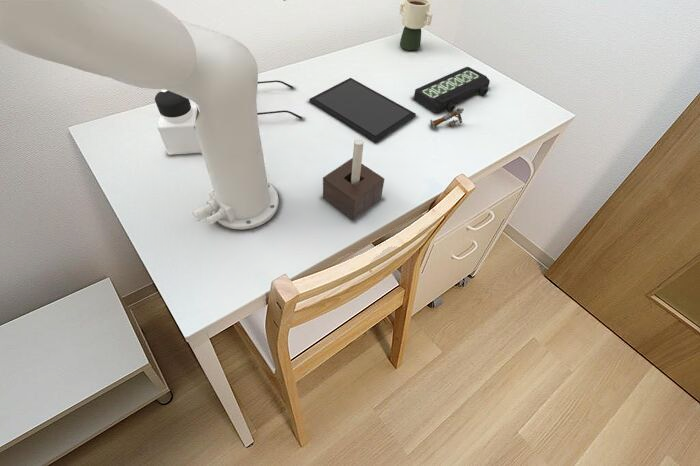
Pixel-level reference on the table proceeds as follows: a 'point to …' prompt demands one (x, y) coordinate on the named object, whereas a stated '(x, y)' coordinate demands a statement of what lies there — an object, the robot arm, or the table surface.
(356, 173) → the stylus
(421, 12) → the character mug
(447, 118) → the wooden post with brackets
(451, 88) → the digital display
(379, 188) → the block
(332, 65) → the table surface
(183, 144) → the medicine bottle
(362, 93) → the tablet
